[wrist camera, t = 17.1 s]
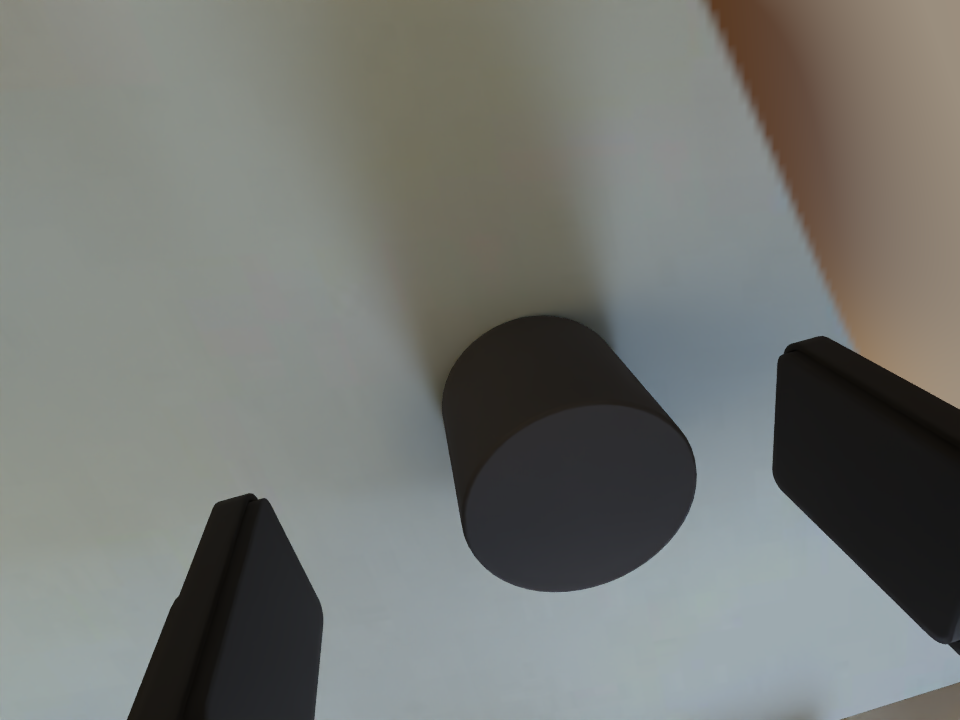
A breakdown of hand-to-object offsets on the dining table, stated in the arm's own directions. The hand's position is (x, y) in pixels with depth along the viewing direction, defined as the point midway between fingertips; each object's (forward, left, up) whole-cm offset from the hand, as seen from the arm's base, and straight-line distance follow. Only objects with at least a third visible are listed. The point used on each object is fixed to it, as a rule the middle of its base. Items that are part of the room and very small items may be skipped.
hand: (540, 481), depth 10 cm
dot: (-1, 0, -3) cm, 3 cm away
